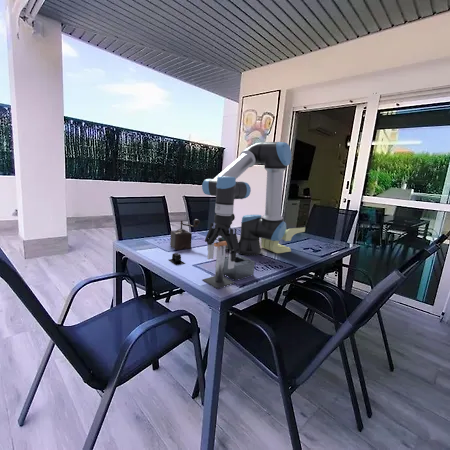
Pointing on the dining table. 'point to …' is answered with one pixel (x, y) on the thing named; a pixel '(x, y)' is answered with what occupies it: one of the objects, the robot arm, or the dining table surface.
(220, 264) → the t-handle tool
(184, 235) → the manual coffee grinder
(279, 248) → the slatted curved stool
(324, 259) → the dining table surface
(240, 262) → the block
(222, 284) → the rubber mat
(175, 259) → the black notched block
